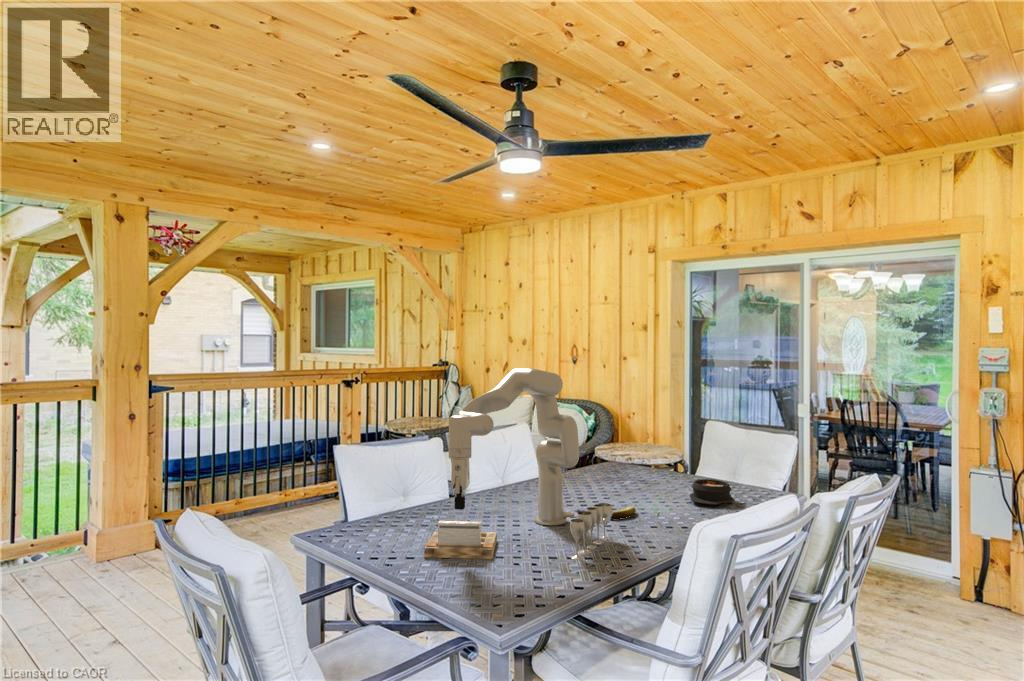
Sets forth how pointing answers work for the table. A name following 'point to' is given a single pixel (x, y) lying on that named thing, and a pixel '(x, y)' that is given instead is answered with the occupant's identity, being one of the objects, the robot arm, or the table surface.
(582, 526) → the goblet set
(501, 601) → the table surface
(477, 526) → the blanking panel
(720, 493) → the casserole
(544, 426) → the robot arm
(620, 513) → the yellow brown curved block
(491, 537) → the rack
